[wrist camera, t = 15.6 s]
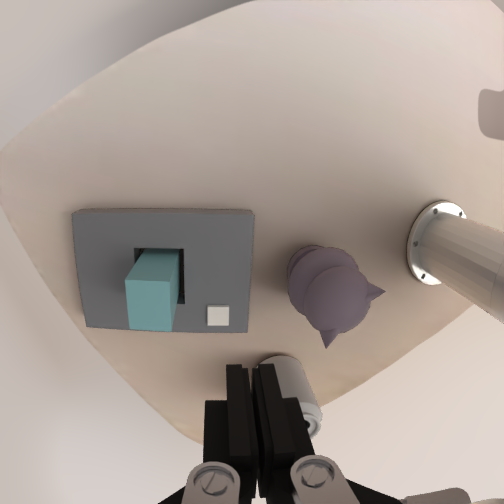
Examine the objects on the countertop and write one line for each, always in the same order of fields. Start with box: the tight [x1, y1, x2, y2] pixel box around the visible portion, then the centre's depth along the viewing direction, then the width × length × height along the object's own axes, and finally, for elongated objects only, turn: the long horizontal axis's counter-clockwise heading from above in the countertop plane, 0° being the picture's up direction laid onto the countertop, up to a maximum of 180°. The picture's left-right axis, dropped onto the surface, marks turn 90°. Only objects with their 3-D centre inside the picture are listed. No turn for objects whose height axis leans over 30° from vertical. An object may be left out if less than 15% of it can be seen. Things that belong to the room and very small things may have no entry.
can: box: [256, 355, 322, 439], centre depth 37 cm, size 8×8×12 cm
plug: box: [125, 248, 180, 332], centre depth 31 cm, size 4×5×10 cm
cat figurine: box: [287, 246, 385, 348], centre depth 32 cm, size 9×8×12 cm
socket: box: [72, 208, 255, 333], centre depth 34 cm, size 20×14×4 cm
